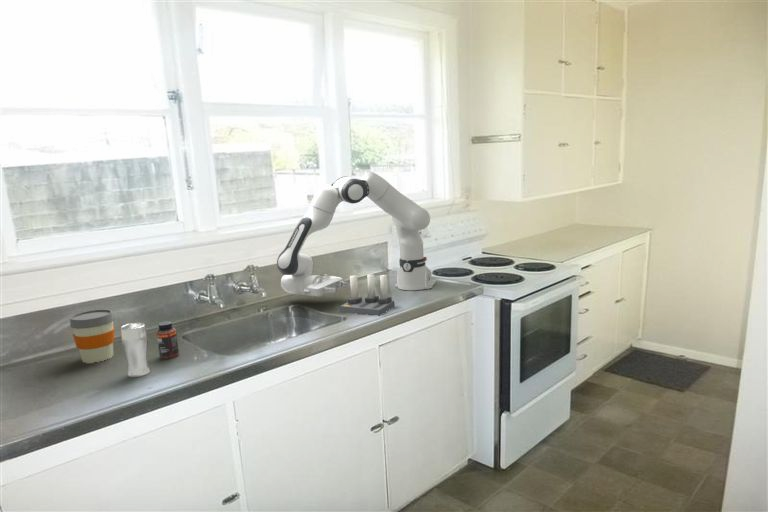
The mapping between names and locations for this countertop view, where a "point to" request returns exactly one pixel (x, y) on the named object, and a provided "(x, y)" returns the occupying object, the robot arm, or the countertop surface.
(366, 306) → the switch console
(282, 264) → the robot arm
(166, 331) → the supplement bottle
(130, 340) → the beer glass
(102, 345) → the reusable coffee cup
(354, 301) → the switch handle
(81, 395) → the countertop surface
